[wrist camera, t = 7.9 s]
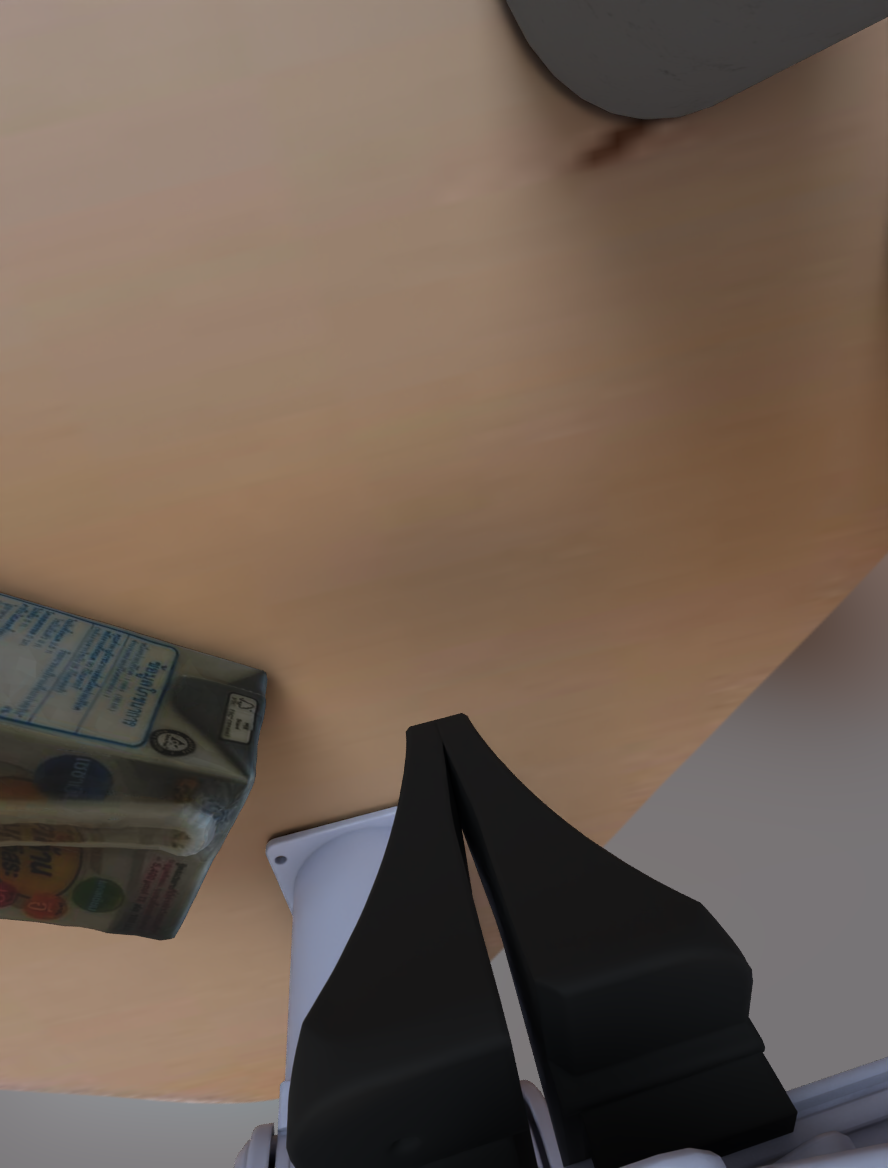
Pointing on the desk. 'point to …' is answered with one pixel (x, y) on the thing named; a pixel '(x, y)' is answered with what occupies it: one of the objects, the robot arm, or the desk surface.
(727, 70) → the water bottle
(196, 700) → the beverage carton
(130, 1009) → the desk surface
